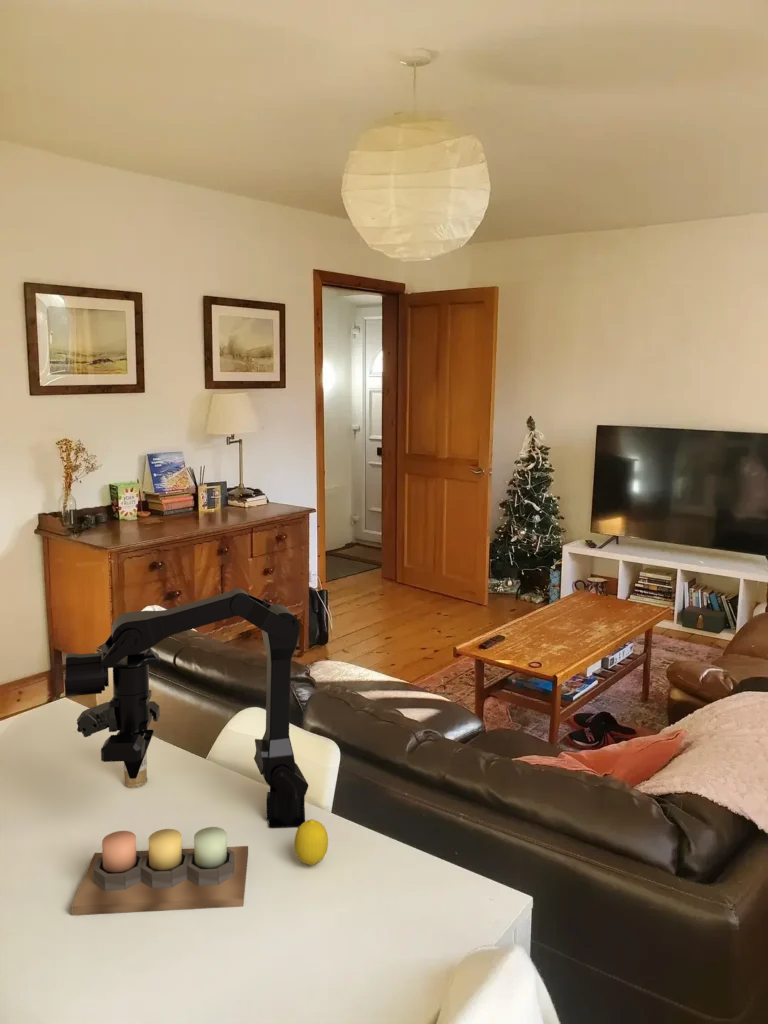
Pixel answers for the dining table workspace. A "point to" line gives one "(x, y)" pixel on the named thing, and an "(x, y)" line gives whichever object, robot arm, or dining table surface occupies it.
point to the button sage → (210, 847)
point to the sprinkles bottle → (141, 775)
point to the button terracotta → (119, 851)
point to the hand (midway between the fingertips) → (133, 777)
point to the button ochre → (165, 849)
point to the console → (163, 885)
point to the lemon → (311, 842)
